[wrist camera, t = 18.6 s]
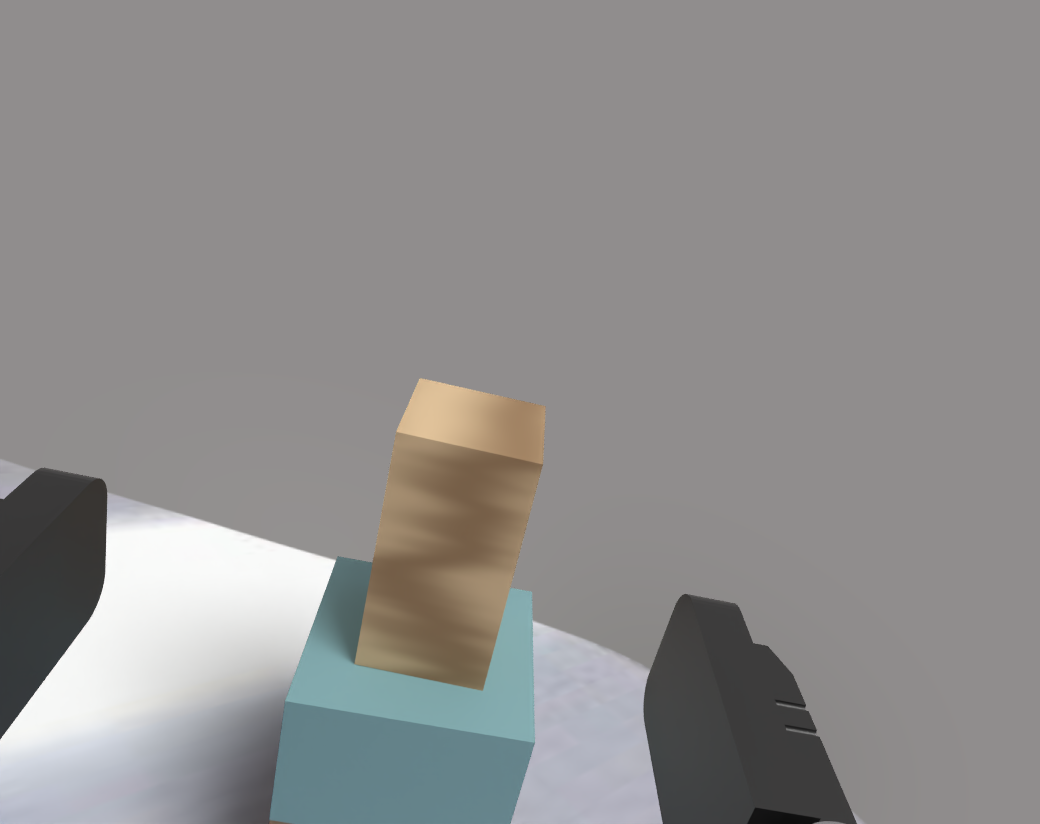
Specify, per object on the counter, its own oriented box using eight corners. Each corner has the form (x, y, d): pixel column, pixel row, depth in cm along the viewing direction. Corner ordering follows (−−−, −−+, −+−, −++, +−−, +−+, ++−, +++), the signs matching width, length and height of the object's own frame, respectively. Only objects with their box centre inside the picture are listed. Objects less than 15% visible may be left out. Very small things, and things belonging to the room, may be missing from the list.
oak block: (354, 664, 31) (396, 431, 27) (381, 586, 36) (420, 378, 32) (482, 691, 31) (542, 464, 27) (492, 610, 36) (545, 406, 32)
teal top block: (268, 819, 31) (284, 701, 29) (321, 658, 39) (337, 556, 37) (500, 855, 32) (534, 742, 30) (504, 690, 40) (531, 591, 38)
